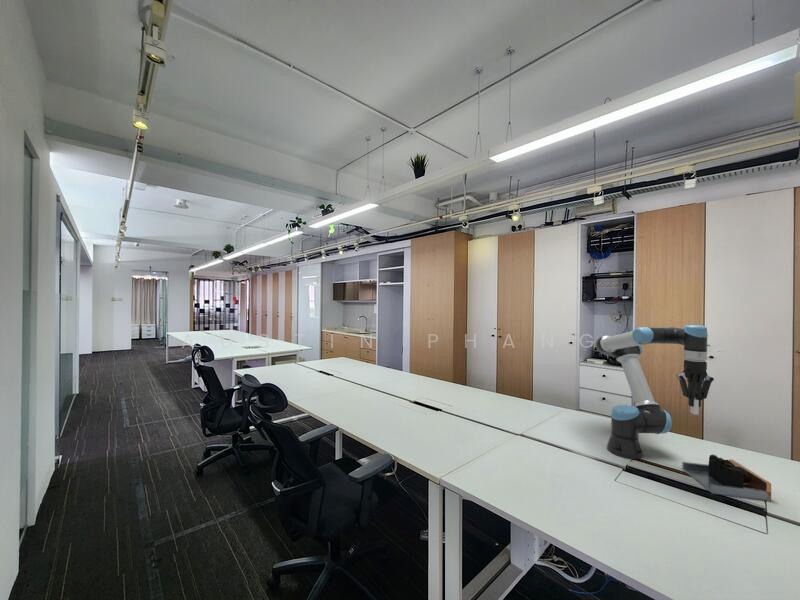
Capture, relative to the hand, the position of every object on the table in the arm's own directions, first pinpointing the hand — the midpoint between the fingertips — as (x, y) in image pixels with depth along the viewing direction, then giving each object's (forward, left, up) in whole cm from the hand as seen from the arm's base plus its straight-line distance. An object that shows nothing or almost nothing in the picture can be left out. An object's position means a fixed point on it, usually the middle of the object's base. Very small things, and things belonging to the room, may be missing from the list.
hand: (694, 413), depth 140 cm
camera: (+13, -1, -29) cm, 32 cm away
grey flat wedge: (+10, 0, -29) cm, 31 cm away
